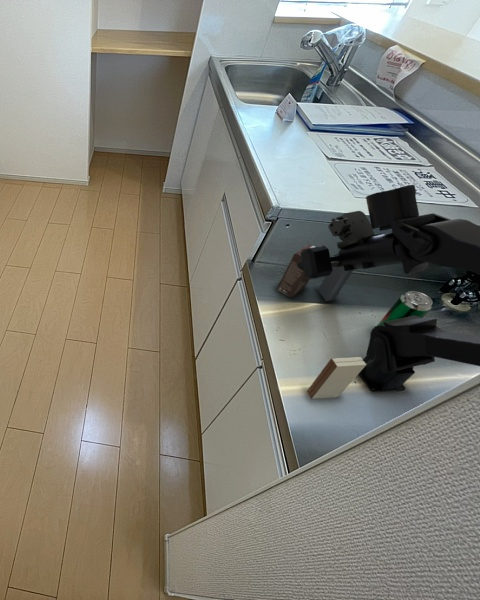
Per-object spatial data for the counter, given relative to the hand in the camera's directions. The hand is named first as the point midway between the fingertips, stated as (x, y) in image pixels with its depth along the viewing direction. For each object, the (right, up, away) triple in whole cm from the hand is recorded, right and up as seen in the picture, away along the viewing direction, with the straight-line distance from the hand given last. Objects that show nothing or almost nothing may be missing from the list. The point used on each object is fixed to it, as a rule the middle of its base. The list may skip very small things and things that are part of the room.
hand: (316, 261), depth 79 cm
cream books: (-7, -28, -11) cm, 31 cm away
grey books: (+8, -8, +7) cm, 13 cm away
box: (0, -6, +10) cm, 12 cm away
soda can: (+14, -17, -3) cm, 22 cm away
